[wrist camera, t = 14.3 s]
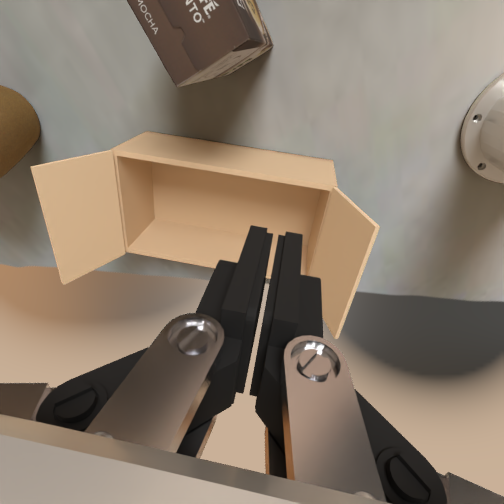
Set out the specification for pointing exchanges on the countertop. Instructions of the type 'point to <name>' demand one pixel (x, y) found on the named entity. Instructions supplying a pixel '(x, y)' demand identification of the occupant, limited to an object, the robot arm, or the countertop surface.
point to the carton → (216, 198)
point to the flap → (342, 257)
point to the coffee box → (203, 35)
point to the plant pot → (15, 128)
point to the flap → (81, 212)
